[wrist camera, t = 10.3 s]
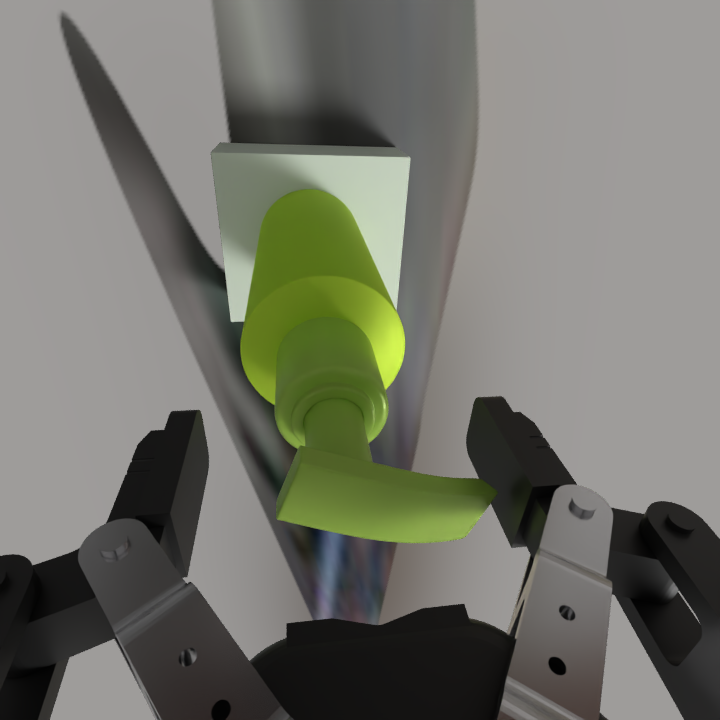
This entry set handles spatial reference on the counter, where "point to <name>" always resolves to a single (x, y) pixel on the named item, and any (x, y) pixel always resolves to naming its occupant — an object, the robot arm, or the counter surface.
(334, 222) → the soap dispenser
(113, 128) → the counter surface
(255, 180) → the plate
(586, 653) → the robot arm
